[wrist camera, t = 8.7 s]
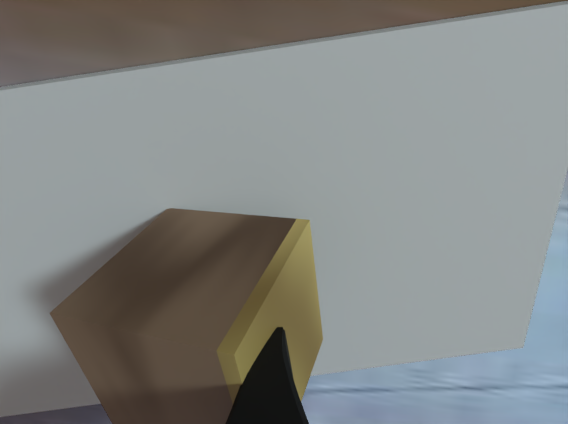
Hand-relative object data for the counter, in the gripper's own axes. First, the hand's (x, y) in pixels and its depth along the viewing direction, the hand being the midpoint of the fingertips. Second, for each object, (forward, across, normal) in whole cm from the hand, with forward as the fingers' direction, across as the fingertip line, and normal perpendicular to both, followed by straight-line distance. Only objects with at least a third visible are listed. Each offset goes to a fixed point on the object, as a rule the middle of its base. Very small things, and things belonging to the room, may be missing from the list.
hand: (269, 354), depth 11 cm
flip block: (0, 0, 0) cm, 1 cm away
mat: (+5, +3, +1) cm, 6 cm away
